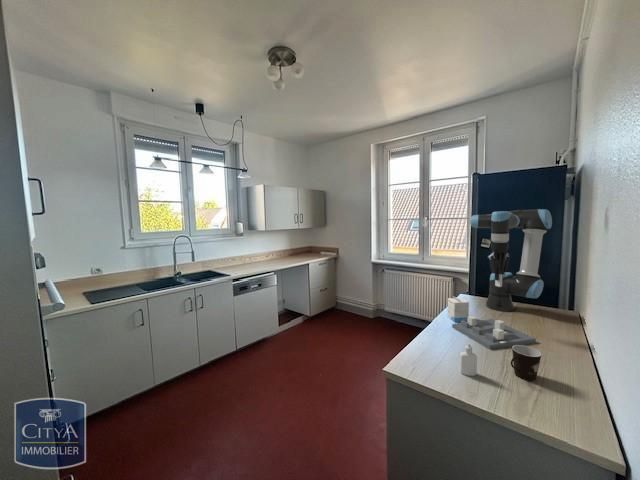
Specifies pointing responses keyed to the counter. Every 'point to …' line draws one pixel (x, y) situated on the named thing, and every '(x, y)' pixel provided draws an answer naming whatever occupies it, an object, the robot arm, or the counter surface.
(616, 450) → the counter surface
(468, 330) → the switch board
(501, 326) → the tab
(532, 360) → the coffee mug
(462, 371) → the eye dropper bottle
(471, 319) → the tab
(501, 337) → the tab
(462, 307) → the ink box
